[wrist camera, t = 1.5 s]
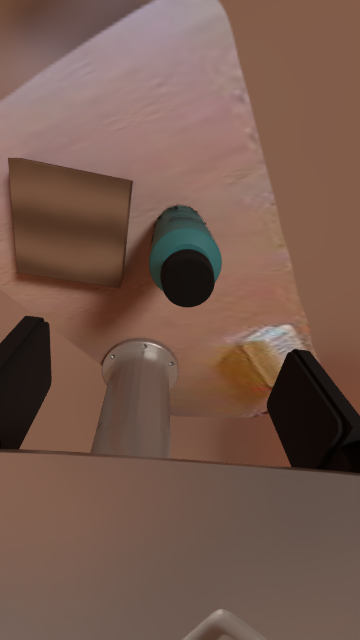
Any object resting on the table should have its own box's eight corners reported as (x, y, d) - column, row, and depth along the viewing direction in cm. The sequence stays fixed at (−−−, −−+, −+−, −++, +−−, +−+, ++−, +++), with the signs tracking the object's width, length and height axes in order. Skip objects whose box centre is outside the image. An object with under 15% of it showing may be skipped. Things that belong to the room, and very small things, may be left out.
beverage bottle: (206, 247, 40) (239, 317, 22) (158, 256, 40) (154, 331, 22) (200, 197, 37) (232, 231, 19) (148, 206, 37) (133, 249, 19)
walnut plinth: (122, 280, 41) (119, 288, 39) (27, 264, 40) (17, 272, 37) (132, 180, 35) (130, 182, 33) (20, 158, 34) (8, 157, 31)
